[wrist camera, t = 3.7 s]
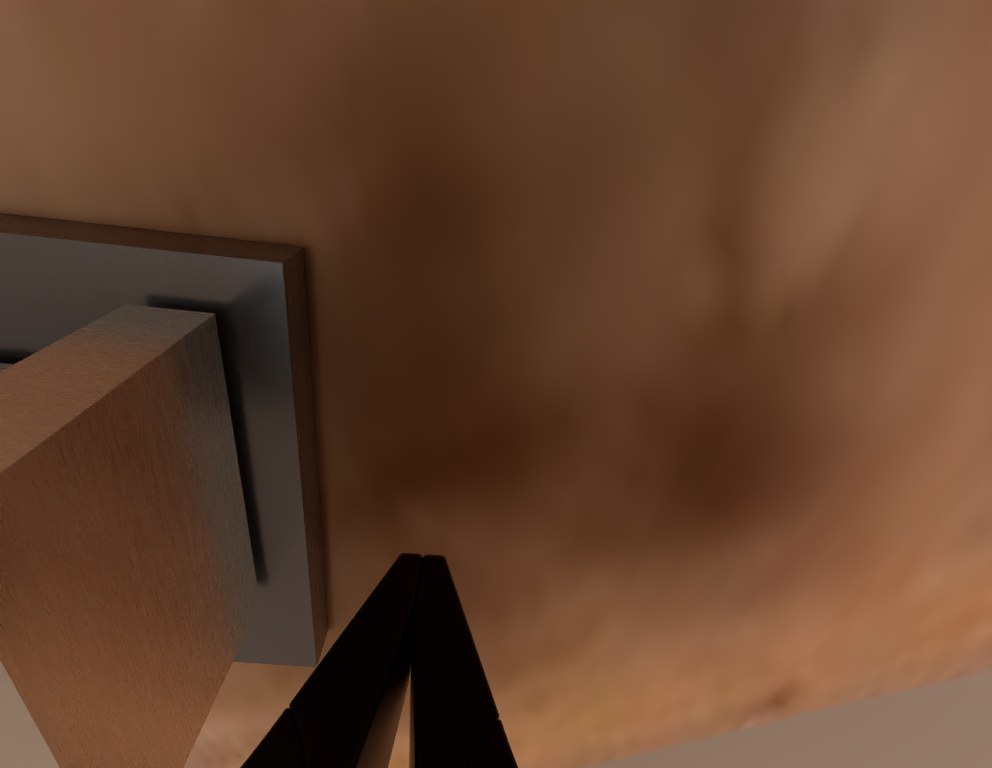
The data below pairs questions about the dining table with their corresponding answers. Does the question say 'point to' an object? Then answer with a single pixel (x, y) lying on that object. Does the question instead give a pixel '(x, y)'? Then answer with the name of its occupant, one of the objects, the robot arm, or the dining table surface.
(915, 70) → the dining table surface
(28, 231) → the gauge bench
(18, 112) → the dining table surface
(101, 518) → the block with end plate
